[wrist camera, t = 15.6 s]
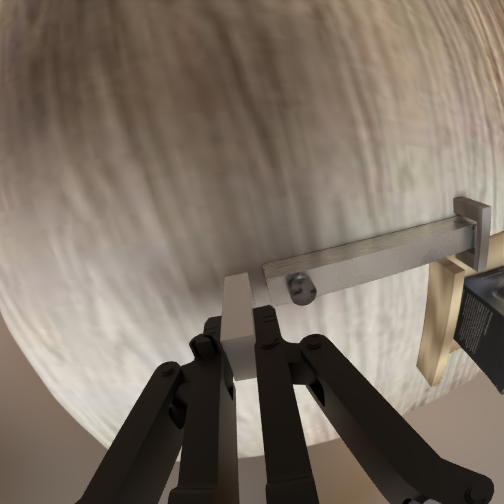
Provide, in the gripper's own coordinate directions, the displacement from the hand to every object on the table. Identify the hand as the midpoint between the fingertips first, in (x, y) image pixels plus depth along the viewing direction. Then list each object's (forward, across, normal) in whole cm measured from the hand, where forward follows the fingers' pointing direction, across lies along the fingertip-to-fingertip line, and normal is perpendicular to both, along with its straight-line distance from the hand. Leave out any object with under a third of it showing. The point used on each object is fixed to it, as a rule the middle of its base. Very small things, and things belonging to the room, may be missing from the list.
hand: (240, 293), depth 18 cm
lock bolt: (+1, +11, 0) cm, 11 cm away
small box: (+1, +24, -8) cm, 25 cm away
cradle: (+1, +24, -6) cm, 25 cm away
